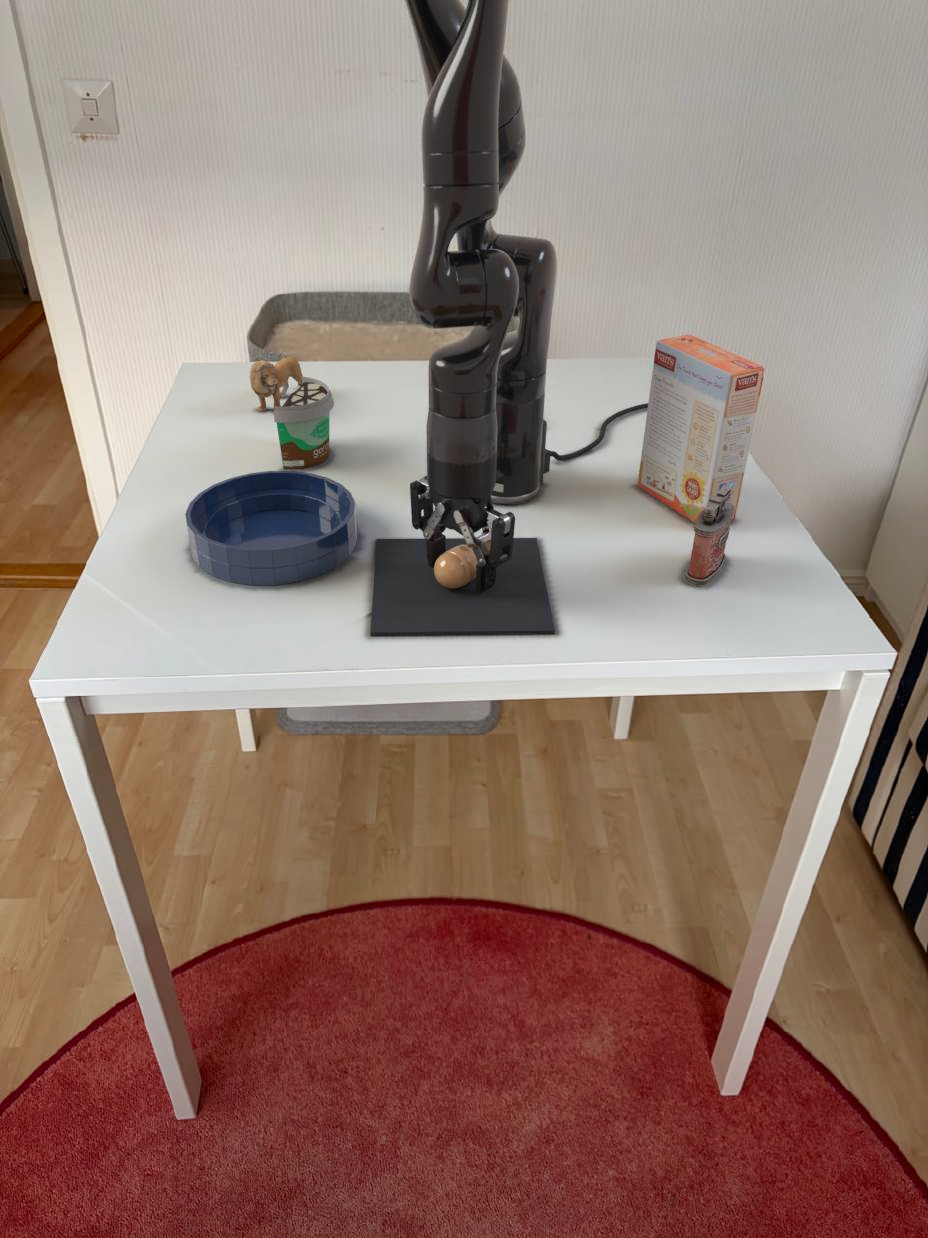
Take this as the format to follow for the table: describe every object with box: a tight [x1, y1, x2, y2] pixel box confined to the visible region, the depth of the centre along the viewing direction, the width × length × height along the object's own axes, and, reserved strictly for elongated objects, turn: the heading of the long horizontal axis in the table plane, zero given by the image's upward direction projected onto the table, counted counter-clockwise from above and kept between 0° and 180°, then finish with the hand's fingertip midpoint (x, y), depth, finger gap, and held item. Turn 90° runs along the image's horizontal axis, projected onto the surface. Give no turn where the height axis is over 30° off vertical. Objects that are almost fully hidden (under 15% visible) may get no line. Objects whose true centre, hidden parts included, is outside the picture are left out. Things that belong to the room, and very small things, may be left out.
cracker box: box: [637, 334, 766, 524], centre depth 125 cm, size 14×6×21 cm, turn 29°
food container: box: [273, 376, 335, 471], centre depth 138 cm, size 12×6×10 cm, turn 168°
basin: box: [184, 470, 358, 586], centre depth 119 cm, size 20×20×5 cm
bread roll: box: [434, 544, 478, 589], centre depth 112 cm, size 6×4×4 cm
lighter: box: [684, 486, 735, 587], centre depth 114 cm, size 8×3×10 cm, turn 148°
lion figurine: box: [249, 356, 304, 413], centre depth 154 cm, size 15×5×9 cm, turn 164°
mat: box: [369, 537, 556, 637], centre depth 113 cm, size 20×20×1 cm
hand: (460, 576), depth 113 cm, fingers open, 7 cm apart
